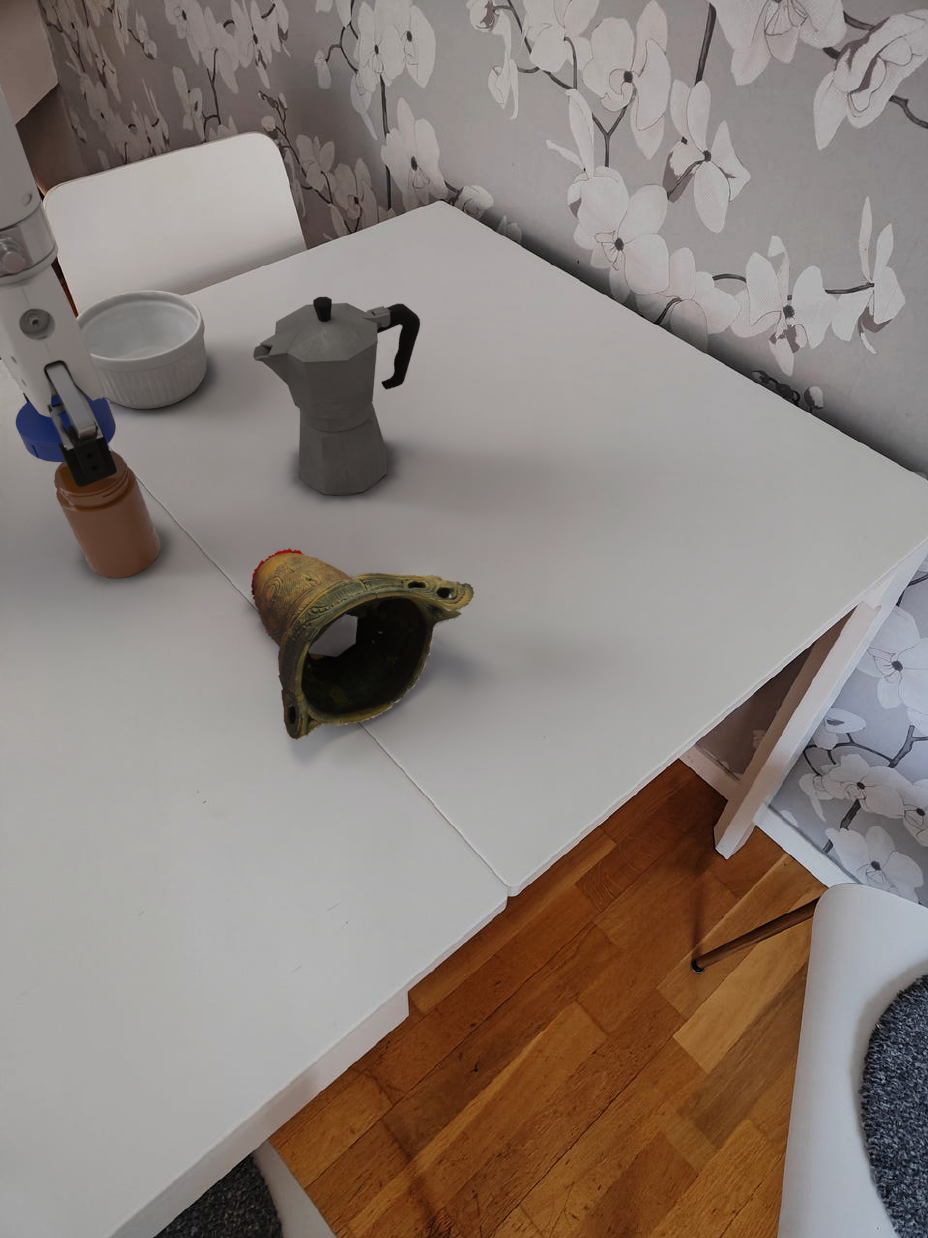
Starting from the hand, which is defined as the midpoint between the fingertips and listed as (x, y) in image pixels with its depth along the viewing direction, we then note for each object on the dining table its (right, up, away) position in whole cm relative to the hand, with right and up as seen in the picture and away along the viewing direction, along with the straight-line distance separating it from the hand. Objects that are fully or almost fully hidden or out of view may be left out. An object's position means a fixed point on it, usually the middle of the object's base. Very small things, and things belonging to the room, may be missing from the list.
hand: (78, 451), depth 69 cm
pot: (+22, -17, +1) cm, 28 cm away
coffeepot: (+20, +2, +17) cm, 26 cm away
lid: (0, +2, -3) cm, 3 cm away
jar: (0, -7, +9) cm, 12 cm away
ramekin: (-3, +12, +25) cm, 28 cm away
